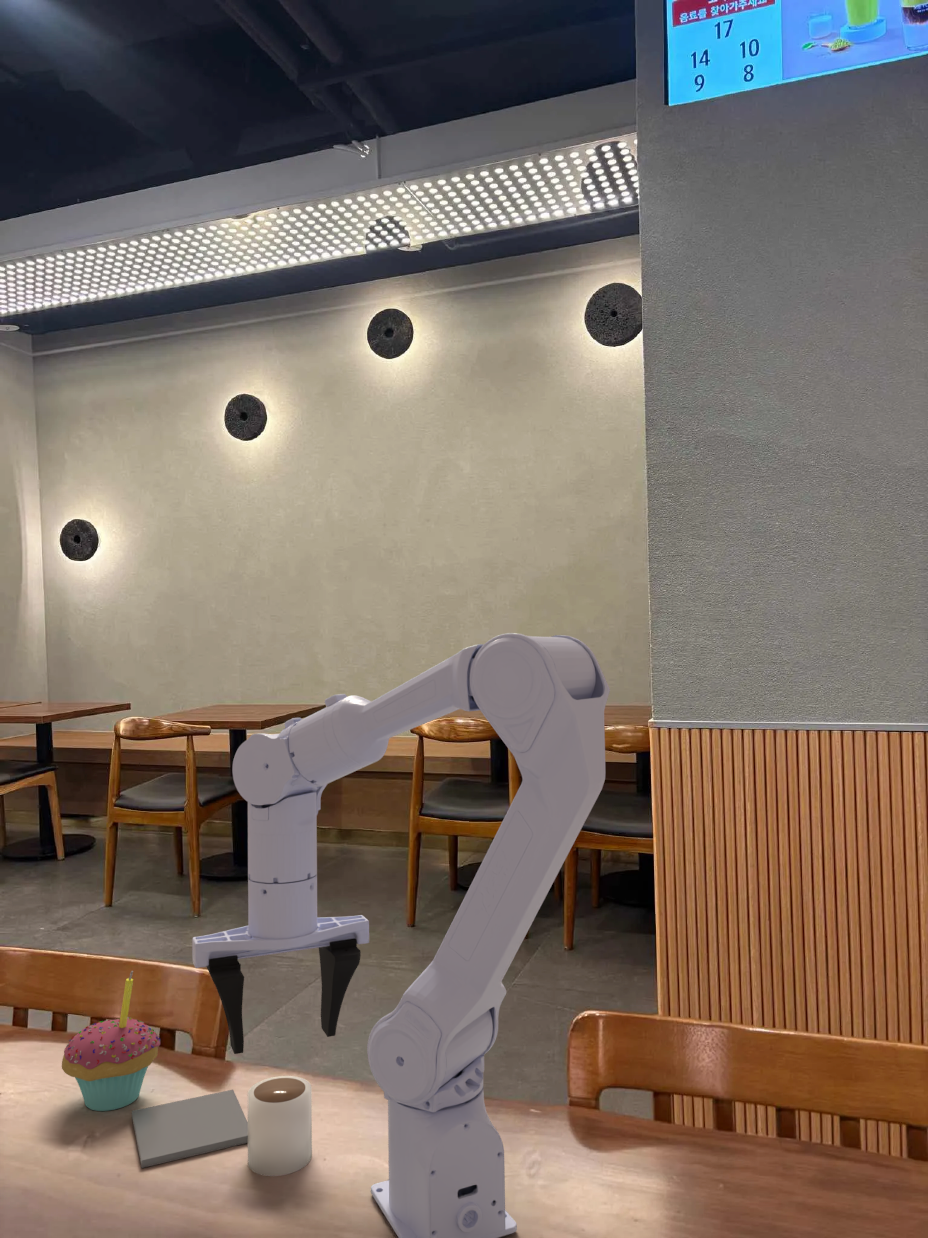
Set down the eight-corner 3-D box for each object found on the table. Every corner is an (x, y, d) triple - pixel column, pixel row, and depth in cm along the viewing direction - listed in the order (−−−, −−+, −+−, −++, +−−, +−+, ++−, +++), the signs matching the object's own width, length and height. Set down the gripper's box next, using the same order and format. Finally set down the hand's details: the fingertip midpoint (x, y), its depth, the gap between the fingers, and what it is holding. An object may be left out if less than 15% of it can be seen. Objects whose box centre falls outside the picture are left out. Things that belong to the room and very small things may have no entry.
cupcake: (173, 1080, 88) (173, 956, 89) (133, 1125, 80) (133, 987, 80) (90, 1077, 89) (91, 955, 90) (42, 1121, 81) (43, 985, 81)
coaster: (252, 1141, 77) (252, 1134, 77) (141, 1168, 73) (141, 1160, 73) (233, 1096, 85) (233, 1089, 85) (132, 1117, 81) (132, 1111, 81)
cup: (319, 1166, 73) (318, 1096, 73) (255, 1183, 71) (254, 1111, 71) (302, 1136, 78) (302, 1070, 78) (241, 1150, 75) (241, 1083, 76)
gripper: (352, 857, 82) (353, 1008, 82) (187, 875, 76) (187, 1037, 76) (376, 874, 76) (377, 1038, 75) (198, 894, 70) (198, 1072, 69)
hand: (283, 1040), depth 75 cm, fingers open, 7 cm apart
